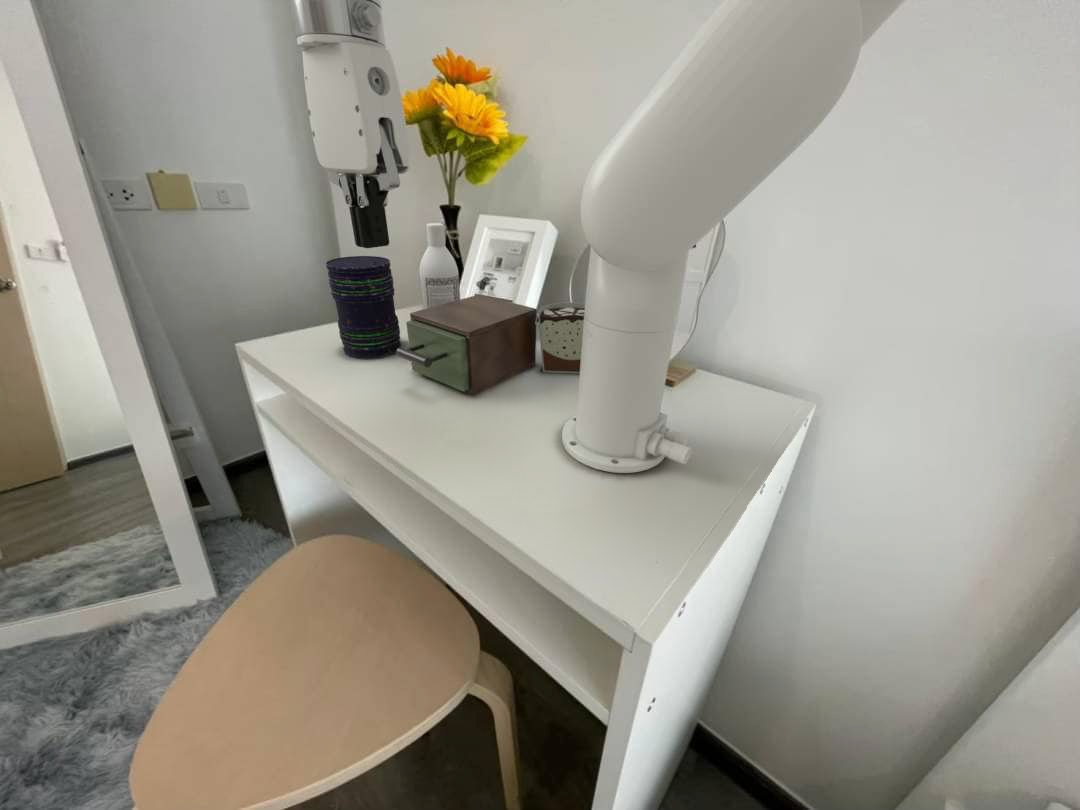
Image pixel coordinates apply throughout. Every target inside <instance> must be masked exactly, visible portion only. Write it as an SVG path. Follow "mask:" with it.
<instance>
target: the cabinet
mask: <svg viewBox="0 0 1080 810" xmlns="http://www.w3.org/2000/svg"><path fill="white" fill-rule="evenodd" d="M537 314H538V311H537V308H535V307H530V306H527V305H523V304H519V303H516V302H515V303H514V302H511V301H507V300H504V299H498V298H495V297H491V296H487V295H483V294H476V295H472V296H468V297H464V298H460V300H457V301H453V302H449V303H446V304H442V305H438V306H435V307H431V308H427V309H423V308H422V309H419V310H416V311H412V312H410V313H409V315H410V321H411V320H415V321H418V322H421V323H423V322H424V323H427V324H430V325H434V326H437V327H440V328H443V329H446V330H449V331H452V332H455V333H458V334H461V335H464V336H466V338H467V354H468V371H469V388H470V389H468V390H466V391H464V393H466V394H468V395H471V396H475V395H477V394H479V393H482V392H483V391H485V390H488V389H489V388H491V387H493V386H496V385H497V384H499V383H501V382H503V381H505V380H508V379H509V378H513V377H514V376H517V375H518V374H519V373H522V372H524V371H526V370H528V369H530V368H532V367H535V366H536V362H537V361H536V359H537V358H536V354H537V323H536V324H535V321H536V317H537Z"/></svg>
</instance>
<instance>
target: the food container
mask: <svg viewBox="0 0 1080 810" xmlns="http://www.w3.org/2000/svg"><path fill="white" fill-rule="evenodd" d="M584 312H585V302H557V303H550V304H547V305H544V306H541V307H540V309H538V312H537V313H536V314H537V317H536V321H535V324H536V325H537V323H538V326H539V327H538V329H539V341H540V353H541V364H542V372H543V373H552V374H553V373H556V374H579V375H580V362H581V349H582V336H583V323H584Z"/></svg>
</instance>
